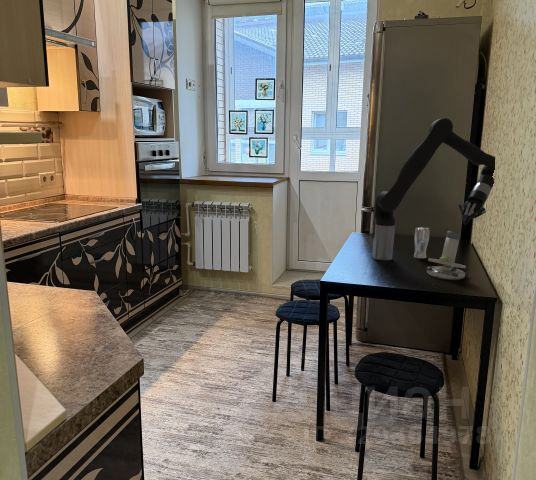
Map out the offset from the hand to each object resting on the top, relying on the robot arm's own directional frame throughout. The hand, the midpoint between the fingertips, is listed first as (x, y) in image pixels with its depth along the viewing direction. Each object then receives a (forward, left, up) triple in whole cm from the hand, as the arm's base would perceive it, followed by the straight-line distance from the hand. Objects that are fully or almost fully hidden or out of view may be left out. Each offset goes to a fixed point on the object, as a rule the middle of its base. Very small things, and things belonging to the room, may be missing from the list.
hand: (464, 223), depth 215 cm
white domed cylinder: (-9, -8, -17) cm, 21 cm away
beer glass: (-11, +22, -22) cm, 33 cm away
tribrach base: (-9, -8, -22) cm, 25 cm away
